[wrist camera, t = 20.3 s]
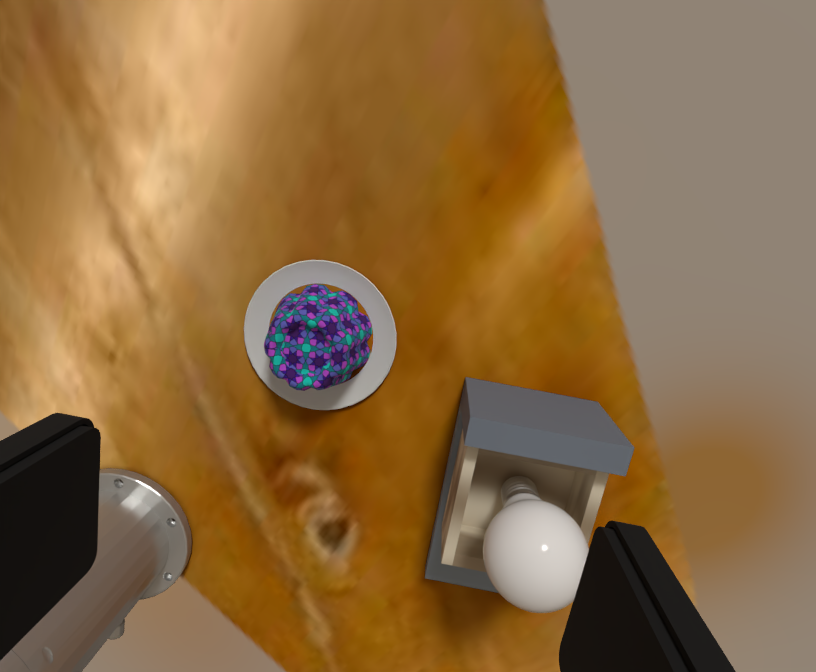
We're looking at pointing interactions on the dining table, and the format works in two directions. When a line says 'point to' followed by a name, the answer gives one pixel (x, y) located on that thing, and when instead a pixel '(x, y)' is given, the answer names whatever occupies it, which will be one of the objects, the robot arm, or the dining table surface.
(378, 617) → the dining table surface
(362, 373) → the pudding
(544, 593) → the lightbulb
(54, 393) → the dining table surface
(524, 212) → the dining table surface
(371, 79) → the dining table surface
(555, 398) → the base
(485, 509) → the box
